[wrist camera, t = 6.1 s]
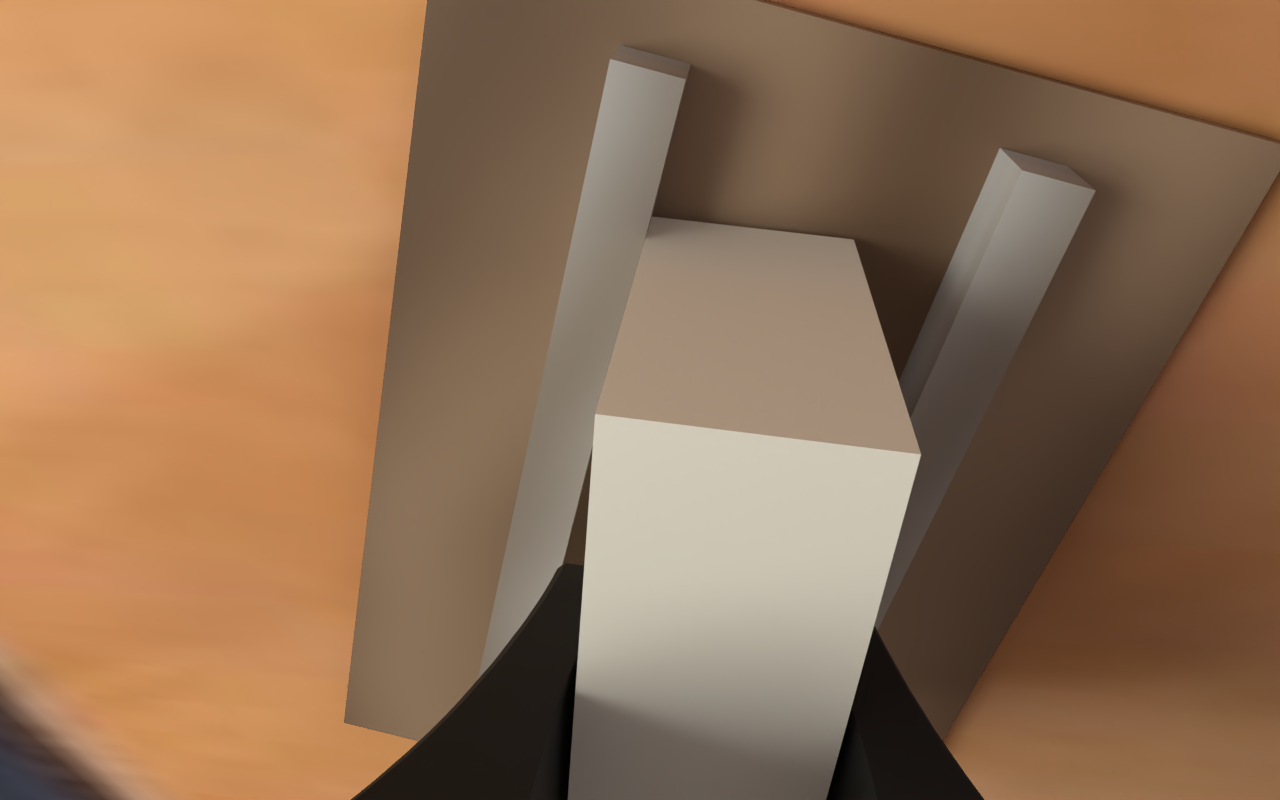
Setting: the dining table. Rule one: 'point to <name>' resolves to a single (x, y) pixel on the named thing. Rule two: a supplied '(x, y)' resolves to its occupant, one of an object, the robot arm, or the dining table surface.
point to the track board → (782, 201)
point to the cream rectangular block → (736, 519)
